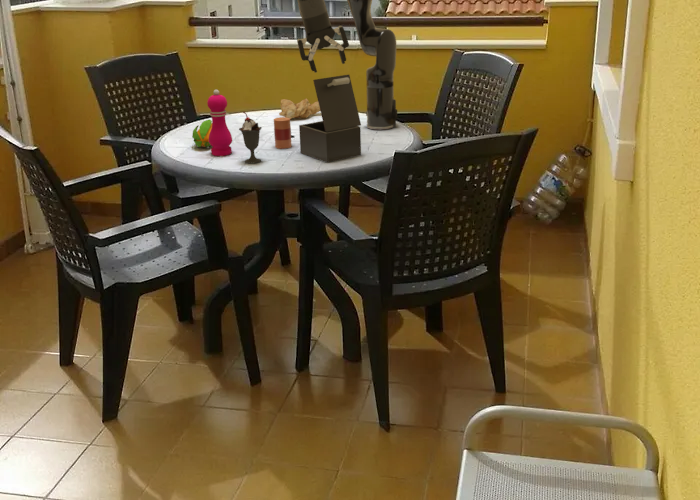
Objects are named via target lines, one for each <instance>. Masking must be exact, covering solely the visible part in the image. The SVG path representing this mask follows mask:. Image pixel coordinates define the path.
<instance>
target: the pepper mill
mask: <svg viewBox="0 0 700 500" xmlns="http://www.w3.org/2000/svg"><path fill="white" fill-rule="evenodd" d="M212 92H213V95H210V96H208V99H207V103H206V105H207V107H208V109H209V110H210V111H209V116H210V117H211V121H212V128H211V131H210V134H209V143H210V145H211V148H210V153H211V155H212V156H215V157H225V156H229V155H231V154H232V152H233V151H232V147H231V144H232V142H233V137H232V134H231V131H230V130H229V127H228V125H227V122H226V116H227V109H226V108H227V106H228V100H227V98H226V96H225V95H222V94H220V90H218V89H214V90H213V91H212Z"/></svg>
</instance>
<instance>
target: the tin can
mask: <svg viewBox="0 0 700 500" xmlns="http://www.w3.org/2000/svg"><path fill="white" fill-rule="evenodd" d="M291 126H292V125H291V119H290V118H287V117H285V116H281V117H275V118H273V132H274V134H273V135H274V147H275V148H276V149H278V150H284V149H285V150H286V149H290V148H292V145H293V144H292V127H291Z"/></svg>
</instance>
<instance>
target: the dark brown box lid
mask: <svg viewBox="0 0 700 500" xmlns="http://www.w3.org/2000/svg"><path fill="white" fill-rule="evenodd" d="M313 85H314V90H315V94H316V99H317V101H318V103H319V107H320V111H319V112H320V115H321V119H322V121H323V124H324V128H325V132H330V131H335V130H340V129H345V128H350V127H355V126H359V127H361V126H362V122H361V120H360V119H361V118H360V114H359V110H358V105H357V101H356V97H355V92H354V88H353V85H352V80H351V76H350V74H343V75H336V76H329V77H322V78H316V79H313Z"/></svg>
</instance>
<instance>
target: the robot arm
mask: <svg viewBox="0 0 700 500" xmlns="http://www.w3.org/2000/svg"><path fill="white" fill-rule="evenodd" d="M346 1H347V4H348V7H349V10H350V13H351V16H352V19H353V22H354V25H355V30H356V33H357V37H358V41H359V45H360V47H361V49H362V51H363V53H364V54H365V55H367V56H370V57H375V64H374V65H373V66H370V67H368V68H366V72H365V74H366V78H365V82H366V112H365V116H366V128H368V129H369V130H378V131H382V130H384V131H385V130H389V129H393V128H397V119H398V109H397V106H396V105H397V102H396V101H397V100H396V99H395V98H394V87H395V86H394V72H395V70H396V64H397V62H396V61H397V38H396V37H397V36H396V34H395V32H394V31H392V30H391V29H389V28H381V27H377V26H376V24H375V23H374V22H375V21H374V19H373V16H372V12H371V8H372V3H373V0H346ZM297 4H298V10H299V16H300V18H301V20H302V23H303V27H304V30H305V34H306V37H304V38H297V39H296V42H297V46H298V52H299V55H300V59H301V61H303V62H304V61H307V62H308V64H309V68H310V70H311V72H314V73H318V71H317V68H316V67H317V66H316V62H315V59H314V56H315V54H316V52H317V50H319V51H320V50H322V49H324V48H329V47H330V46H331V45H332V46H333V47H335V48H336V49H338V54H339V58H340V61H341V64H342V65H344V64H346V62H347V56H346V53H345V49H347V48H349V47H350V43H349V40H348V37H347V35H346V32H345V28H344V27H343V26H342V25H338V27H335V28H333V26H332V24H331V20H330V16H329V13H328V8H327V5H326V1H325V0H297ZM336 34H337V35H338V36H340V38H341V41H342V43H341V44H340V43H339V42H337V41H336V40H335V35H336ZM306 43H308V44H309V45H310V47H309V51H308V54H306V52H305V49H304V47H306Z"/></svg>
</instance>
